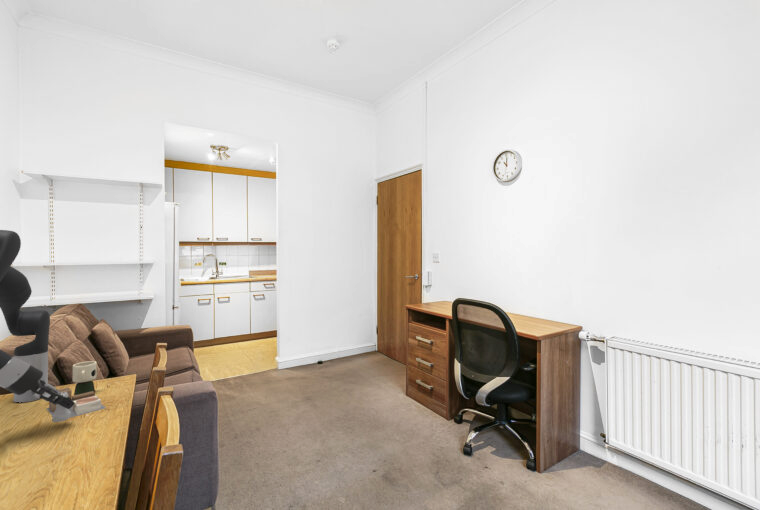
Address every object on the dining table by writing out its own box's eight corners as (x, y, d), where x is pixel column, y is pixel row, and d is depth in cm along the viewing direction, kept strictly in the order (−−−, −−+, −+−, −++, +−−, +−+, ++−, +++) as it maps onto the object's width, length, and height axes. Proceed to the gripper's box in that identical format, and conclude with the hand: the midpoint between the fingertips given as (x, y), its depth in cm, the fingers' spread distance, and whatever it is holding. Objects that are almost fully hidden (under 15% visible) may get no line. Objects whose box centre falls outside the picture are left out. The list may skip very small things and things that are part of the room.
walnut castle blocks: (49, 408, 122) (49, 391, 122) (92, 397, 131) (92, 381, 131) (51, 412, 119) (52, 394, 119) (96, 401, 128) (96, 384, 128)
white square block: (72, 409, 121) (72, 400, 121) (95, 403, 126) (95, 394, 126) (76, 414, 117) (77, 405, 117) (100, 408, 122) (100, 399, 122)
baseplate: (46, 411, 122) (46, 408, 122) (93, 400, 132) (93, 396, 132) (55, 425, 112) (56, 421, 112) (106, 411, 122) (106, 407, 122)
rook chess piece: (59, 423, 106) (59, 396, 106) (47, 421, 107) (48, 395, 107) (74, 416, 111) (75, 391, 111) (63, 415, 111) (64, 390, 112)
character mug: (94, 400, 132) (95, 365, 132) (69, 404, 128) (70, 368, 128) (97, 391, 141) (98, 358, 141) (74, 394, 137) (75, 361, 138)
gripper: (32, 369, 99) (87, 399, 108) (25, 359, 108) (76, 388, 117) (4, 393, 95) (64, 422, 104) (-1, 381, 103) (54, 409, 113)
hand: (70, 404), depth 110 cm, fingers closed on rook chess piece, 3 cm apart
